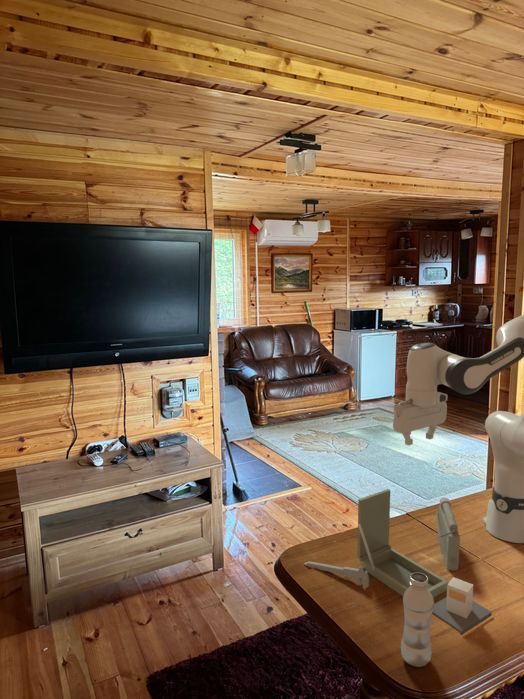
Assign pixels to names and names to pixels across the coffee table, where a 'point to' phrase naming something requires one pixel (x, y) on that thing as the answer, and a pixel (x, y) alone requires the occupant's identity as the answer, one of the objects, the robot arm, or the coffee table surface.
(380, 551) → the equipment case
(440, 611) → the rubber mat
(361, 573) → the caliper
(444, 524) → the geiger counter
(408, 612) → the plastic bottle
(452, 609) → the block
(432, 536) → the coffee table surface
